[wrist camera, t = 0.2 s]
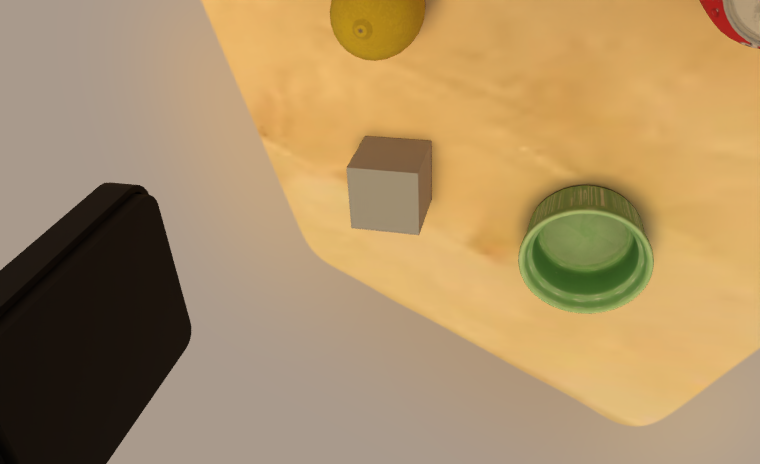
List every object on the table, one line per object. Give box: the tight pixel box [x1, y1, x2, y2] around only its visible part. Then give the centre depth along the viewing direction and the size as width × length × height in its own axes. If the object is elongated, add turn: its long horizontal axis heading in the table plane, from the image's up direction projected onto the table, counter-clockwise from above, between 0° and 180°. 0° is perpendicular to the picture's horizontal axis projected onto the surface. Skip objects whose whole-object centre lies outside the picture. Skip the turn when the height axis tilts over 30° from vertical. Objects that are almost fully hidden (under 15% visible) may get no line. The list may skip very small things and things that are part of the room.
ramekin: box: [518, 185, 654, 314], centre depth 49 cm, size 9×9×4 cm
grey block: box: [347, 136, 432, 235], centre depth 49 cm, size 5×5×5 cm
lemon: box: [330, 0, 425, 61], centre depth 41 cm, size 6×6×8 cm
